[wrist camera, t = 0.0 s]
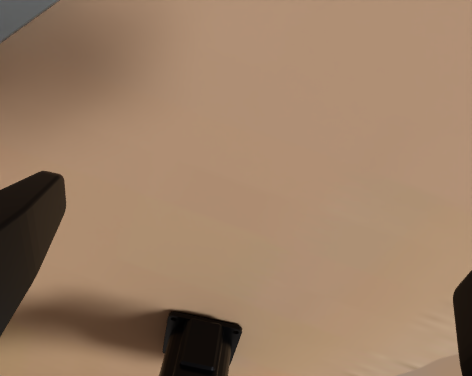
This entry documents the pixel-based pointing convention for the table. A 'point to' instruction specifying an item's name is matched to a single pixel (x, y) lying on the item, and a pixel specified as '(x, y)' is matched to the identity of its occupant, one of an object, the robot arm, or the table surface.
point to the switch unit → (20, 14)
